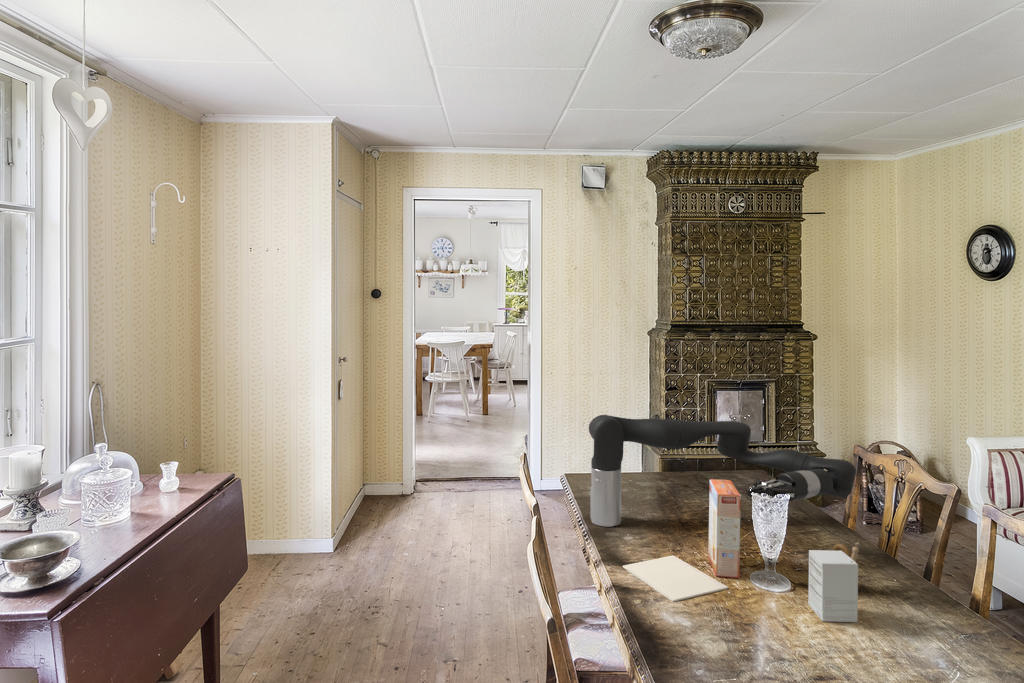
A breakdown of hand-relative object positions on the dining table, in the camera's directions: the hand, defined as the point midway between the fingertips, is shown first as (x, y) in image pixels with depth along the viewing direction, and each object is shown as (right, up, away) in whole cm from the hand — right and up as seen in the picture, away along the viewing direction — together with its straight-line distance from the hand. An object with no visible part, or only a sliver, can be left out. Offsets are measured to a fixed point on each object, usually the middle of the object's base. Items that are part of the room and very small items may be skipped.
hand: (749, 493), depth 153 cm
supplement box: (+7, -19, -27) cm, 34 cm away
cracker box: (-8, -18, -3) cm, 20 cm away
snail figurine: (+16, -19, -15) cm, 29 cm away
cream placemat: (-22, -19, -9) cm, 30 cm away
